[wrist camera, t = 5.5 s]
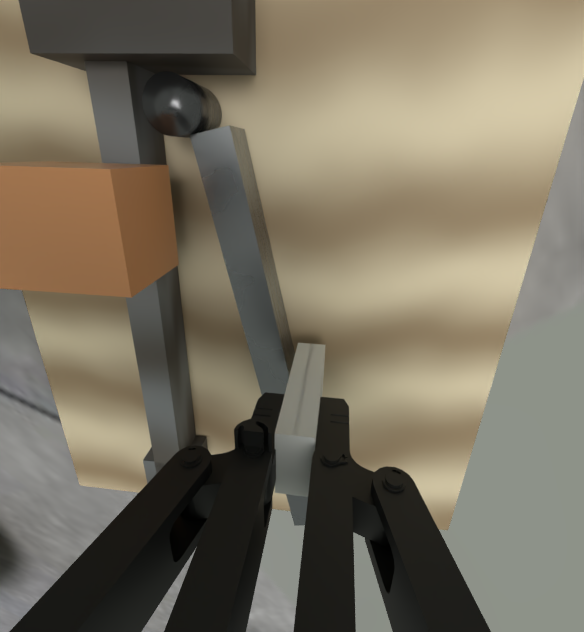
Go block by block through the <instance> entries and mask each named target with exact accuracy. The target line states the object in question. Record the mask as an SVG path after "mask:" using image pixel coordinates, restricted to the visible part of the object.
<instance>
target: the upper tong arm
mask: <svg viewBox="0 0 584 632" xmlns="http://www.w3.org/2000/svg"><path fill="white" fill-rule="evenodd" d="M142 104H143V109H144V113H145V115H146V117H147V119H148V121H149V123H150V124H151V125H152V126H153V127H154V128H155V129H156V130H157V131H158V132H160V133H162V134H164V135H167V136H174V137H185V138H190V139H191V142H192V146H193V149H194V153H195V157H196V160H197V164H198V167H199V171H200V175H201V178H202V182H203V185H204V189H205V193H206V196H207V200H208V203H209V207H210V211H211V214H212V218H213V221H214V225H215V229H216V232H217V236H218V239H219V243H220V247H221V250H222V254H223V257H224V261H225V265H226V268H227V272H228V275H229V279H230V283H231V286H232V290H233V293H234V297H235V301H236V304H237V308H238V311H239V315H240V319H241V322H242V326H243V329H244V333H245V337H246V340H247V344H248V347H249V351H250V355H251V358H252V362H253V365H254V369H255V373H256V376H257V380H258V383H259V387H260V390H261V394H262V395H263V394H264V393H265V392H267V393H278V394H285V391H286V387H287V383H288V380H289V376H290V372H291V368H292V364H293V360H294V356H295V352H294V347H293V343H292V338H291V334H290V330H289V325H288V321H287V316H286V312H285V307H284V303H283V298H282V294H281V289H280V285H279V280H278V276H277V272H276V267H275V263H274V258H273V254H272V249H271V245H270V240H269V236H268V231H267V227H266V222H265V218H264V214H263V209H262V205H261V200H260V196H259V191H258V187H257V182H256V178H255V173H254V169H253V164H252V160H251V156H250V151H249V147H248V142H247V138H246V133H245V129H242V128H238V127H234V126H230V125H229V126H225V127H221V128H219V126H220V123H221V118H222V112H221V106H220V103H219V101H218V99H217V98H216V96H215V95H214V94H213V93H212V92H211V91H210V90H209V89H207V88H205V87H203V86H201V85H199V84H197V83H195V82H193V81H191V80H189V79H186V78H184V77H182V76H180V75H178V74H176V73H174V72H169V71H163V72H159V73H156V74H155V75H153V76H152V77H151V78H150V79H149V80H148V81H147V83H146V85H145V87H144V90H143V95H142ZM286 496H287V500H288V503H289V507H290V510H291V514H292V518H293V521H294V525H305V521H306V511H307V502H308V497H305V496H297V495H289V494H286Z"/></svg>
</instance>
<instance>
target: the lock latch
mask: <svg viewBox="0 0 584 632" xmlns="http://www.w3.org/2000/svg"><path fill="white" fill-rule="evenodd" d="M177 265H179V261H178V251H177V242H176V233H175V223H174V214H173V204H172V195H171V185H170V176H169V167H168V165H151V164H119V163H88V162H56V161H41V162H7V163H0V289H14V290H29V291H43V292H58V293H72V294H87V295H101V296H116V297H130V298H132V297H133V296H134V295H136V294H137V293H139V292H140V291H142V290H143V289H144V288H146V287H147V286H149V285H150V284H152V283H153V282H155V281H156V280H157V279H159V278H160V277H162V276H163V275H165V274H166V273H167V272H169V271H170V270H172V269H173V268H175V267H176V266H177Z"/></svg>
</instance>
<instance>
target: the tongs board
mask: <svg viewBox="0 0 584 632" xmlns="http://www.w3.org/2000/svg"><path fill="white" fill-rule="evenodd" d="M163 71H169V72H174V73H176V74H178V75H180V76H182V77H184V78H186V79H189V80H191V81H193V82H195V83H197V84H199V85H201V86H203V87H205V88H207V89H209V90H210V91H211V92H212V93H213V94H214V95H215V96H216V98H217V99H218V101H219V103H220V106H221V112H222V118H221V123H220V126H219V128H221V127H225V126H229V125H230V126H234V127H238V128H242V129H245V133H246V138H247V142H248V147H249V151H250V156H251V160H252V164H253V169H254V173H255V178H256V182H257V187H258V191H259V196H260V200H261V205H262V209H263V214H264V218H265V222H266V227H267V231H268V236H269V240H270V245H271V249H272V254H273V258H274V263H275V267H276V272H277V276H278V280H279V285H280V289H281V294H282V298H283V303H284V307H285V312H286V316H287V321H288V325H289V330H290V334H291V338H292V343H293V347H294V352H296V349H297V345H298V343H309V344H322V345H325V360H324V377H323V393H322V397H329V398H340V399H344V400H345V401H346V403H347V404H348V406H349V434H350V454H351V456H352V458H353V459H354V461H355V462H356V463H357V464H359V465H360V466H362V467H364V468H366V469H368V470H371V471H373V472H375V471H377V470H378V469H379V468H382V467H386V466H389V467H396V468H399V469H401V470H403V471H405V472H406V473H407V474H409V475H410V477H411V478H412V479H413V481H414V482H415V484H416V486H417V488H418V490H419V492H420V494H421V496H422V498H423V500H424V502H425V504H426V506H427V508H428V510H429V512H430V514H431V516H432V518H433V520H434V521H435V523H436V525H437V527H438V529H442V530H448V528H449V524H450V522H451V519H452V515H453V512H454V509H455V505H456V502H457V498H458V495H459V492H460V489H461V485H462V481H463V479H464V475H465V471H466V468H467V465H468V462H469V458H470V455H471V452H472V449H473V445H474V442H475V438H476V435H477V432H478V428H479V425H480V422H481V419H482V415H483V412H484V409H485V405H486V402H487V398H488V395H489V392H490V389H491V385H492V382H493V379H494V375H495V372H496V368H497V365H498V362H499V359H500V355H501V352H502V349H503V345H504V342H505V339H506V335H507V332H508V329H509V325H510V322H511V318H512V315H513V312H514V308H515V305H516V302H517V298H518V295H519V292H520V288H521V285H522V282H523V278H524V275H525V272H526V268H527V265H528V262H529V258H530V255H531V252H532V248H533V245H534V242H535V238H536V235H537V232H538V228H539V225H540V222H541V218H542V215H543V212H544V208H545V205H546V202H547V198H548V195H549V192H550V188H551V185H552V182H553V178H554V175H555V172H556V168H557V165H558V162H559V158H560V155H561V152H562V148H563V145H564V142H565V138H566V135H567V132H568V128H569V125H570V122H571V118H572V115H573V112H574V108H575V105H576V102H577V98H578V95H579V92H580V88H581V85H582V82H583V78H584V0H0V163H7V162H41V161H56V162H88V163H119V164H151V165H168V167H169V176H170V185H171V195H172V204H173V214H174V223H175V233H176V242H177V251H178V261H179V265H177V266H176V267H175V268H173V269H172V270H170V271H169V272H167V273H166V274H165V275H163V276H162V277H160V278H159V279H157V280H156V281H155V282H153V283H152V284H150V285H149V286H147V287H146V288H144V289H143V290H142V291H140V292H139V293H137V294H136V295H134V296H133V297H132V298H130V297H116V296H101V295H87V294H72V293H58V292H43V291H29V290H22V292H23V296H24V299H25V302H26V306H27V309H28V313H29V316H30V319H31V323H32V326H33V329H34V333H35V336H36V339H37V343H38V346H39V349H40V353H41V356H42V360H43V363H44V366H45V370H46V373H47V376H48V380H49V383H50V386H51V390H52V393H53V396H54V400H55V403H56V407H57V410H58V413H59V417H60V420H61V423H62V427H63V430H64V433H65V437H66V440H67V443H68V447H69V450H70V454H71V457H72V460H73V464H74V467H75V470H76V474H77V477H78V480H79V484H80V485H82V486H90V487H98V488H106V489H114V490H122V491H131V492H140V491H141V490H142V489H143V488H144V487H145V486H146V485H147V484H148V483H149V481H150V480H151V479H152V478H153V477H154V476H155V475H156V474H157V473H158V472H159V471H160V470H161V469H162V468H163V466H164V465H165V464H166V463H167V462H168V461H169V460H170V459H171V458H172V457H173V456H174V455H175V454H176V453H177V452H178V451H180V450H181V449H183V448H186V447H188V446H195V445H197V446H203V447H205V448H206V449H208V450H209V452H210V453H211V455H214V454H221V453H226V452H229V451H231V450H234V449H235V440H234V429H235V427H236V426H237V424H239V423H241V422H242V421H245V420H248V419H251V417H252V415H253V411H254V409H255V406H256V403H257V400H258V399H259V398H260V397H261V396H262V394H261V390H260V387H259V383H258V380H257V376H256V373H255V369H254V365H253V362H252V358H251V355H250V351H249V347H248V344H247V340H246V337H245V333H244V329H243V326H242V322H241V319H240V315H239V311H238V308H237V304H236V301H235V297H234V293H233V290H232V286H231V283H230V279H229V275H228V272H227V268H226V265H225V261H224V257H223V254H222V250H221V247H220V243H219V239H218V236H217V232H216V229H215V225H214V221H213V218H212V214H211V211H210V207H209V203H208V200H207V196H206V193H205V189H204V185H203V182H202V178H201V175H200V171H199V167H198V164H197V160H196V157H195V153H194V149H193V146H192V142H191V139H190V138H185V137H174V136H167V135H164V134H162V133H160V132H158V131H157V130H156V129H155V128H154V127H153V126H152V125H151V124H150V123H149V121H148V119H147V117H146V115H145V113H144V109H143V104H142V95H143V90H144V87H145V85H146V83H147V81H148V80H149V79H150V78H151V77H152V76H153V75H155V74H156V73H159V72H163ZM272 504H273V506H272V509H278V510H286V511H291V510H290V507H289V503H288V500H287V496H286V494H281V493H275V487H274V491H273V496H272Z"/></svg>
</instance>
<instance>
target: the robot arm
mask: <svg viewBox="0 0 584 632" xmlns="http://www.w3.org/2000/svg"><path fill="white" fill-rule="evenodd" d="M324 360H325V345H322V344H309V343H298V345H297V349H296V352H295V356H294V360H293V364H292V368H291V372H290V376H289V380H288V383H287V387H286V391H285V394H278V393H267V392H265V393H264V394H263V395H262V396H261V397H260V398H259V399H258V400H257V403H256V406H255V409H254V411H253V415H252V417H251V419H248V420H245V421H242V422H241V423H239V424H237V426H236V427H235V429H234V440H235V449H234V450H231V451H229V452H226V453H221V454H214V455H211V453H210V452H209V450H208V449H206V448H205V447H203V446H197V445H195V446H188V447H186V448H183V449H181V450H180V451H178V452H177V453H176V454H175V455H174V456H173V457H172V458H171V459H170V460H169V461H168V462H167V463H166V464H165V465H164V466H163V468H162V469H161V470H160V471H159V472H158V473H157V474H156V475H155V476H154V477H153V478H152V479H151V480H150V481H149V483H148V484H147V485H146V486H145V487H144V488H143V489H142V490H141V491H140V492H139V493H138V494H137V495H136V497H135V498H134V499H133V500H132V501H131V502H130V503H129V504H128V505H127V506H126V507H125V508H124V509H123V510H122V512H121V513H120V514H119V515H118V516H117V517H116V518H115V519H114V520H113V521H112V522H111V523H110V524H109V525H108V527H107V528H106V529H105V530H104V531H103V532H102V533H101V534H100V535H99V536H98V537H97V538H96V539H95V541H94V542H93V543H92V544H91V545H90V546H89V547H88V548H87V549H86V550H85V551H84V552H83V553H82V554H81V556H80V557H79V558H78V559H77V560H76V561H75V562H74V563H73V564H72V565H71V566H70V567H69V568H68V570H67V571H66V572H65V573H64V574H63V575H62V576H61V577H60V578H59V579H58V580H57V581H56V582H55V583H54V585H53V586H52V587H51V588H50V589H49V590H48V591H47V592H46V593H45V594H44V595H43V596H42V597H41V598H40V600H39V601H38V602H37V603H36V604H35V605H34V606H33V607H32V608H31V609H30V610H29V611H28V612H27V614H26V615H25V616H24V617H23V618H22V619H21V620H20V621H19V622H18V623H17V624H16V625H15V626H14V627H13V629H12V630H11V631H10V632H141V631H142V630H143V628H144V627H145V625H146V624H147V622H148V620H149V619H150V617H151V616H152V614H153V613H154V611H155V610H156V608H157V607H158V605H159V604H160V602H161V601H162V599H163V597H164V596H165V594H166V593H167V591H168V590H169V588H170V587H171V585H172V584H173V582H174V581H175V579H176V578H177V576H178V574H179V573H180V571H181V570H182V568H183V567H184V565H185V564H186V562H187V561H188V559H189V558H190V556H191V555H192V553H193V552H194V550H195V548H196V547H197V548H196V550H195V553H194V556H193V558H192V561H191V563H190V566H189V569H188V571H187V574H186V576H185V579H184V582H183V584H182V587H181V589H180V592H179V594H178V597H177V600H176V602H175V605H174V607H173V610H172V613H171V615H170V618H169V620H168V623H167V626H166V628H165V631H164V632H246V628H247V623H248V619H249V614H250V609H251V605H252V600H253V595H254V591H255V586H256V581H257V577H258V572H259V567H260V563H261V558H262V553H263V549H264V544H265V539H266V534H267V530H268V525H269V521H270V516H271V511H272V506H273V504H272V496H273V491H274V487H275V493H281V494H289V495H297V496H305V497H308V502H307V511H306V521H305V530H304V540H303V549H302V558H301V559H302V560H301V568H300V578H299V587H298V597H297V606H296V615H295V624H294V632H355V631H356V630H355V590H354V550H353V532H355V533H357V534H359V535H361V536H363V537H365V542H366V545H367V548H368V552H369V555H370V558H371V561H372V565H373V567H374V571H375V574H376V578H377V581H378V584H379V588H380V591H381V594H382V597H383V601H384V603H385V607H386V611H387V614H388V617H389V620H390V624H391V627H392V630H393V632H491V631H490V629H489V627H488V625H487V623H486V621H485V619H484V618H483V616H482V614H481V612H480V610H479V608H478V606H477V604H476V602H475V600H474V598H473V596H472V594H471V592H470V590H469V588H468V586H467V584H466V582H465V581H464V578H463V576H462V575H461V572H460V571H459V569H458V567H457V565H456V563H455V561H454V559H453V557H452V555H451V553H450V551H449V549H448V547H447V545H446V543H445V541H444V539H443V537H442V535H441V533H440V531H439V529H438V527H437V525H436V523H435V521H434V520H433V518H432V516H431V514H430V512H429V510H428V508H427V506H426V504H425V502H424V500H423V498H422V496H421V494H420V492H419V490H418V488H417V486H416V484H415V482H414V481H413V479H412V478H411V477H410V475H409V474H407V473H406V472H405V471H403V470H401V469H399V468H396V467H389V466H386V467H382V468H379V469H378V470H377V471H375V472H373V471H371V470H368V469H366V468H364V467H362V466H360V465H359V464H357V463H356V462H355V461H354V459H353V458H352V456H351V454H350V434H349V406H348V404H347V403H346V401H345V400H344V399H340V398H329V397H322V393H323V377H324Z"/></svg>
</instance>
